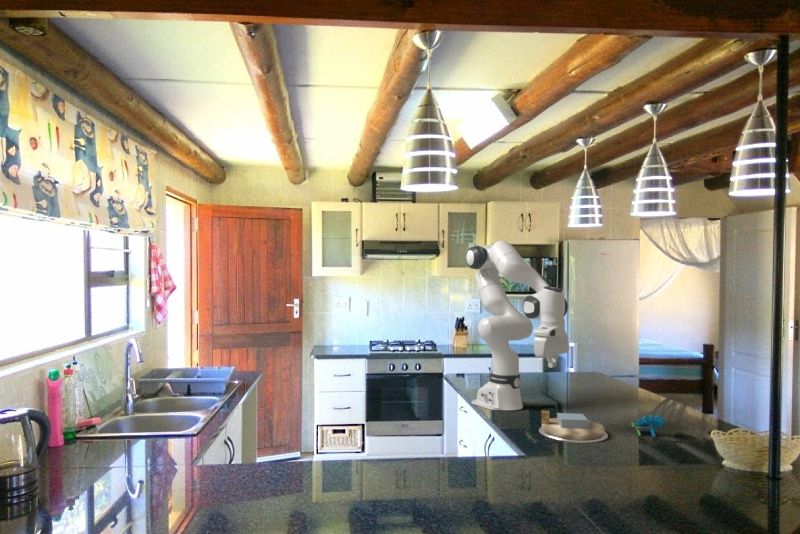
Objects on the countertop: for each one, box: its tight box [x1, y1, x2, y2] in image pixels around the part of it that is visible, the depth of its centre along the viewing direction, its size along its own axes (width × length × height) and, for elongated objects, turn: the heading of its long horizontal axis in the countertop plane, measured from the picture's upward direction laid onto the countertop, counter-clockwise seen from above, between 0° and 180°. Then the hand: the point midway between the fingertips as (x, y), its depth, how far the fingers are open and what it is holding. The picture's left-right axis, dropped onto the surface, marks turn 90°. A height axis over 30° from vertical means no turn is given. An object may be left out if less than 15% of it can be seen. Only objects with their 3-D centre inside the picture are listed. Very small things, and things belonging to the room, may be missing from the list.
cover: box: [556, 412, 589, 429], centre depth 187 cm, size 9×9×3 cm
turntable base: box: [538, 426, 609, 444], centre depth 187 cm, size 23×23×1 cm
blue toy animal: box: [630, 414, 666, 438], centre depth 184 cm, size 11×6×10 cm
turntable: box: [541, 410, 606, 440], centre depth 187 cm, size 21×21×6 cm
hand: (552, 367), depth 198 cm, fingers closed
